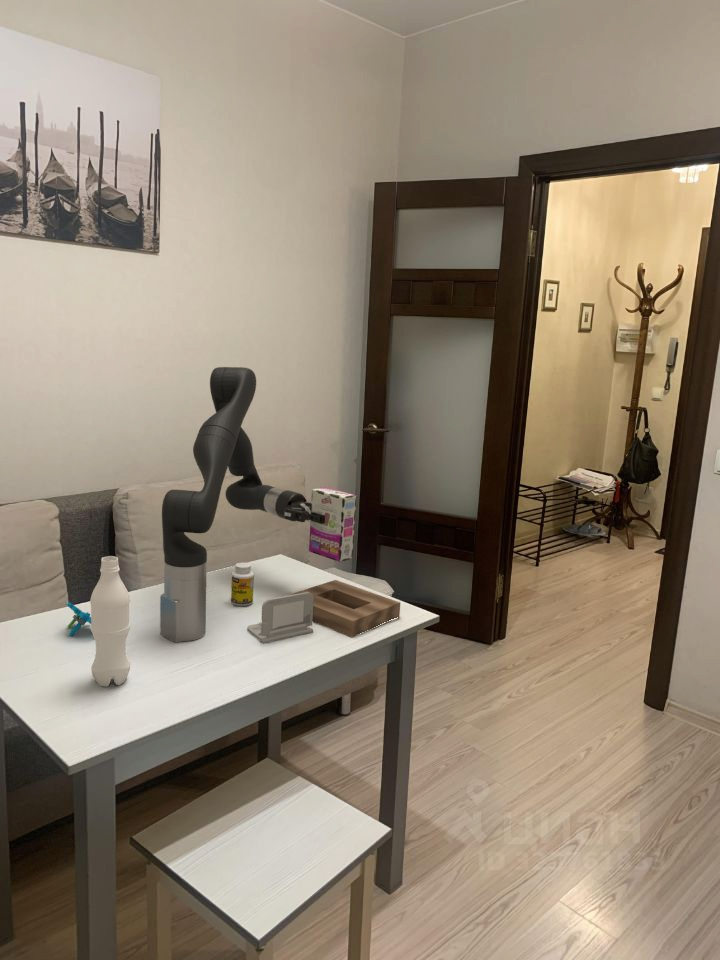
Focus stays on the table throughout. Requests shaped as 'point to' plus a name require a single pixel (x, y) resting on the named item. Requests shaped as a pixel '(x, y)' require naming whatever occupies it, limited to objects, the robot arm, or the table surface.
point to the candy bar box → (333, 524)
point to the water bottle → (110, 625)
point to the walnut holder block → (350, 607)
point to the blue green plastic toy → (78, 618)
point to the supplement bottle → (242, 585)
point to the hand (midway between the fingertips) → (331, 518)
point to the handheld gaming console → (284, 618)
